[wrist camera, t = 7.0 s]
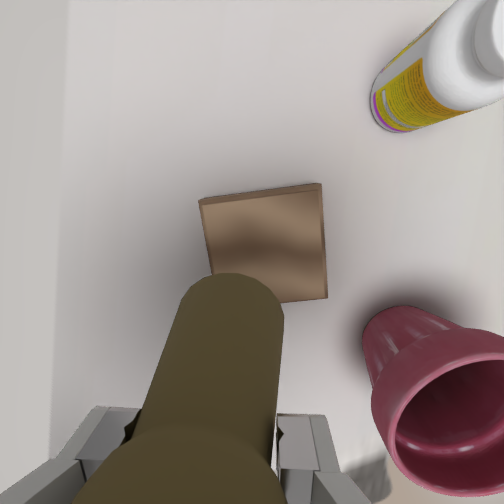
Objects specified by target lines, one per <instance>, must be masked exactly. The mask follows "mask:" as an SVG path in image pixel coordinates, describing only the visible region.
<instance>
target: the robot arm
mask: <svg viewBox="0 0 504 504" xmlns="http://www.w3.org/2000/svg"><path fill="white" fill-rule="evenodd" d="M141 410H142V409H138V408H123V407H105V406H96V407H95V408H94V409H92V410H91V411H90V413H89V414H88V415H87V417H86V418H85V419H84V421H83V422H82V424H81V425H80V426H79V428H78V429H77V430H76V432H75V433H74V434H73V436H72V437H71V438H70V440H69V441H68V442H67V444H66V445H65V447H64V448H63V449H62V451H61V452H60V453H59V455H58V456H57V457H56V459H49V460H48V461H47V462H45V463H44V464H42V465H41V466H40V467H38V468H37V469H35V470H34V471H32V472H31V473H30V474H28V475H27V476H25V477H24V478H22V479H21V480H20V481H19V482H17V483H15V484H14V485H13V486H11V487H10V488H8V489H7V490H5V491H4V492H3V493H1V494H0V504H71V502H72V501H73V499H74V497H75V496H76V494H77V493H78V492H79V491H80V489H81V488H82V487H83V486H84V484H85V483H86V482H87V480H88V479H89V478H90V477H91V475H92V474H93V473H94V472H95V471H96V470H97V468H98V467H99V466H100V465H101V464H102V463H103V461H104V460H105V459H106V458H107V457H108V456H109V454H110V453H111V452H112V451H113V450H115V449H116V448H118V447H120V446H121V445H123V444H125V443H126V442H128V441H130V440H131V438H132V435H133V432H134V429H135V427H136V424H137V421H138V418H139V416H140V413H141ZM276 426H277V433H276V470H277V471H278V476H277V477H278V479H279V482H280V484H281V487H282V489H283V491H284V494H285V496H286V499H287V502H288V504H372V503H371V502H370V501H369V500H368V498H367V497H366V496H365V495H364V494H363V492H362V491H361V490H360V489H359V488H358V486H357V485H356V484H355V483H354V482H353V480H352V479H351V478H350V477H349V476H348V474H347V473H342V472H341V471H340V468H339V464H338V460H337V456H336V452H335V448H334V445H333V441H332V437H331V433H330V429H329V426H328V422H327V418H326V417H325V415H312V414H309V415H308V414H284V413H277V419H276Z"/></svg>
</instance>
